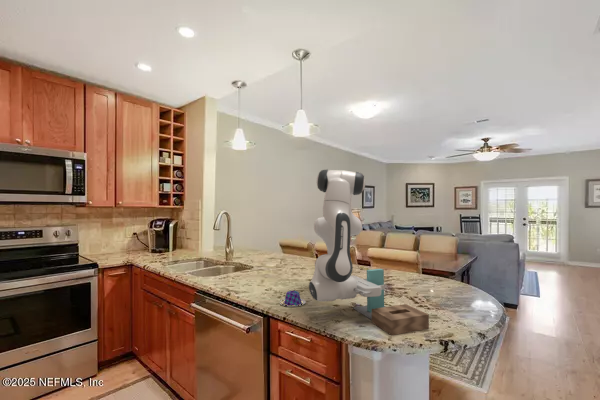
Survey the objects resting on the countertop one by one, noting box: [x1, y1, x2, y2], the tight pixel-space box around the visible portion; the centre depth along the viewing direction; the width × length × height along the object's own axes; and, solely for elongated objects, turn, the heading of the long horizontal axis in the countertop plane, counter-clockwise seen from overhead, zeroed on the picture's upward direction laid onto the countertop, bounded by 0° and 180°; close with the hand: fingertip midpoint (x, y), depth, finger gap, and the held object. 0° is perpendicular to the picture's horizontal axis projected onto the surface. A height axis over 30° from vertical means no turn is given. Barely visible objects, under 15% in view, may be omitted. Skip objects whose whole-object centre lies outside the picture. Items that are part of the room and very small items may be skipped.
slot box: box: [371, 303, 430, 336], centre depth 107 cm, size 16×12×5 cm
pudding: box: [279, 290, 306, 307], centre depth 133 cm, size 12×12×5 cm
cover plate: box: [366, 268, 385, 313], centre depth 121 cm, size 7×2×17 cm, turn 110°
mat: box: [352, 305, 387, 321], centre depth 121 cm, size 14×14×1 cm
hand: (377, 283), depth 122 cm, fingers open, 8 cm apart
